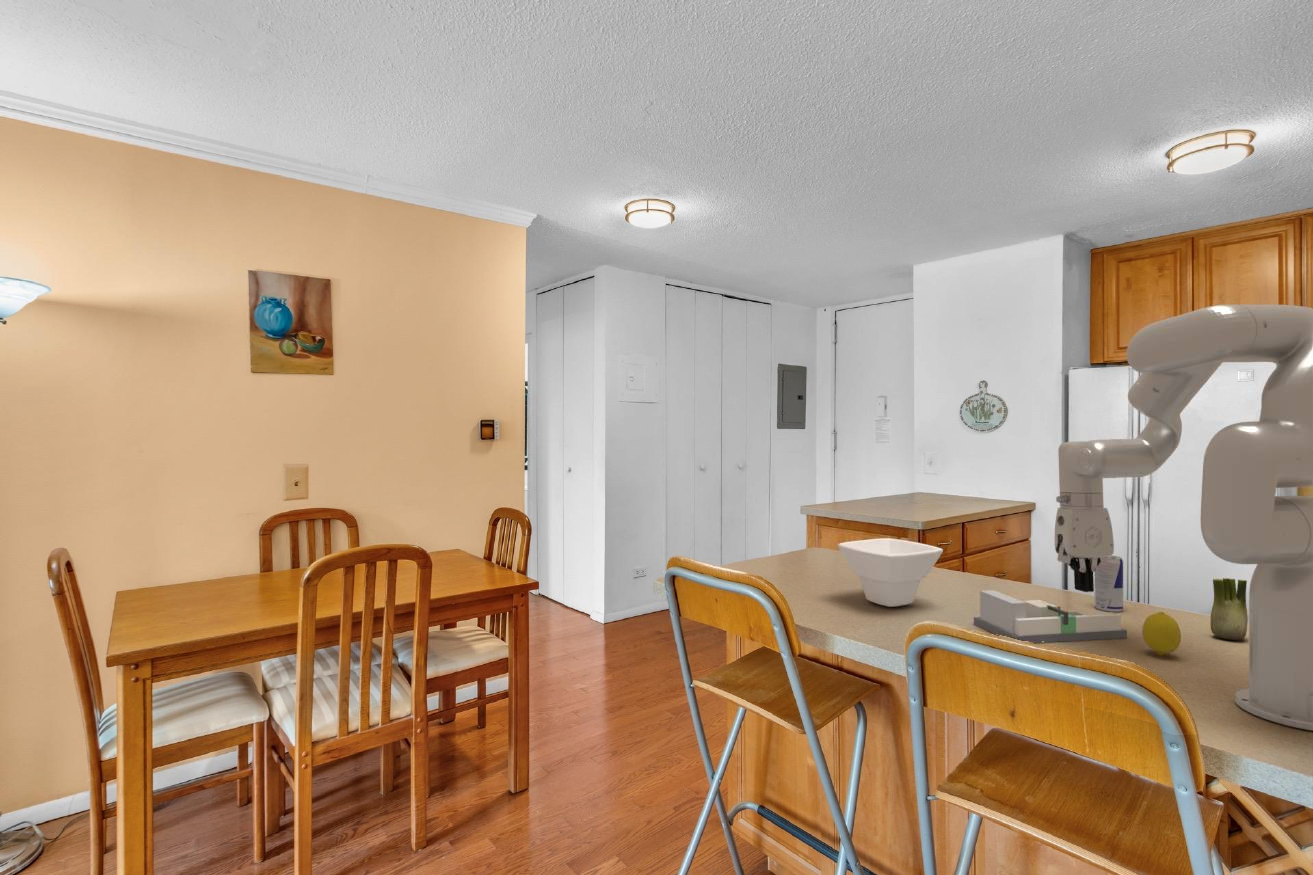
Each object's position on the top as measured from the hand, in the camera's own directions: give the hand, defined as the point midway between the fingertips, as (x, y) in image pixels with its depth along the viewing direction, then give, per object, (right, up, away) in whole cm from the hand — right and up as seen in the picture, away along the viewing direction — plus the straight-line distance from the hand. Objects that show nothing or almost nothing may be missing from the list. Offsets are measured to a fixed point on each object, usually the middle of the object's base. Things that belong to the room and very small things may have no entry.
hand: (1084, 590), depth 132 cm
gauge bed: (-8, -8, 0) cm, 11 cm away
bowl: (-32, -9, +21) cm, 40 cm away
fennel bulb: (+24, -8, -6) cm, 27 cm away
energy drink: (+16, -8, +15) cm, 23 cm away
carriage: (-9, -7, -2) cm, 11 cm away
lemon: (+4, -9, -15) cm, 18 cm away
